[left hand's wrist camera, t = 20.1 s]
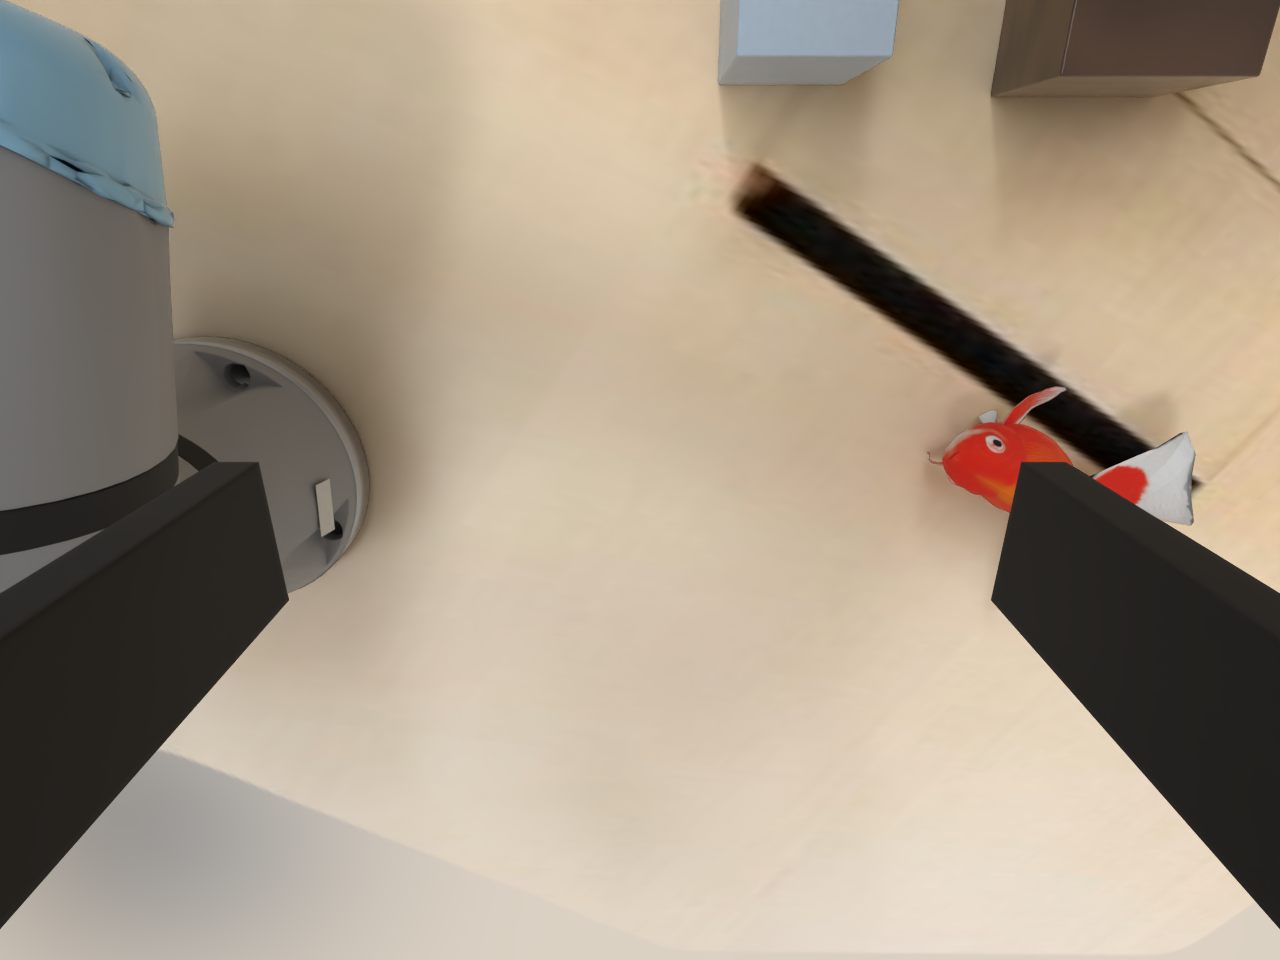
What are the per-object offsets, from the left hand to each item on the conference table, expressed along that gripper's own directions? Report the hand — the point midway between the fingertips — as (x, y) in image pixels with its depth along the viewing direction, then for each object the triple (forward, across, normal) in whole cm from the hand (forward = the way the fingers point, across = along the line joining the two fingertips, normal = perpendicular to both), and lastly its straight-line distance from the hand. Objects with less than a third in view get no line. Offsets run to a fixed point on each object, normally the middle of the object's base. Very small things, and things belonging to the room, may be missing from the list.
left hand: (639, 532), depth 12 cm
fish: (+27, -22, +8) cm, 36 cm away
